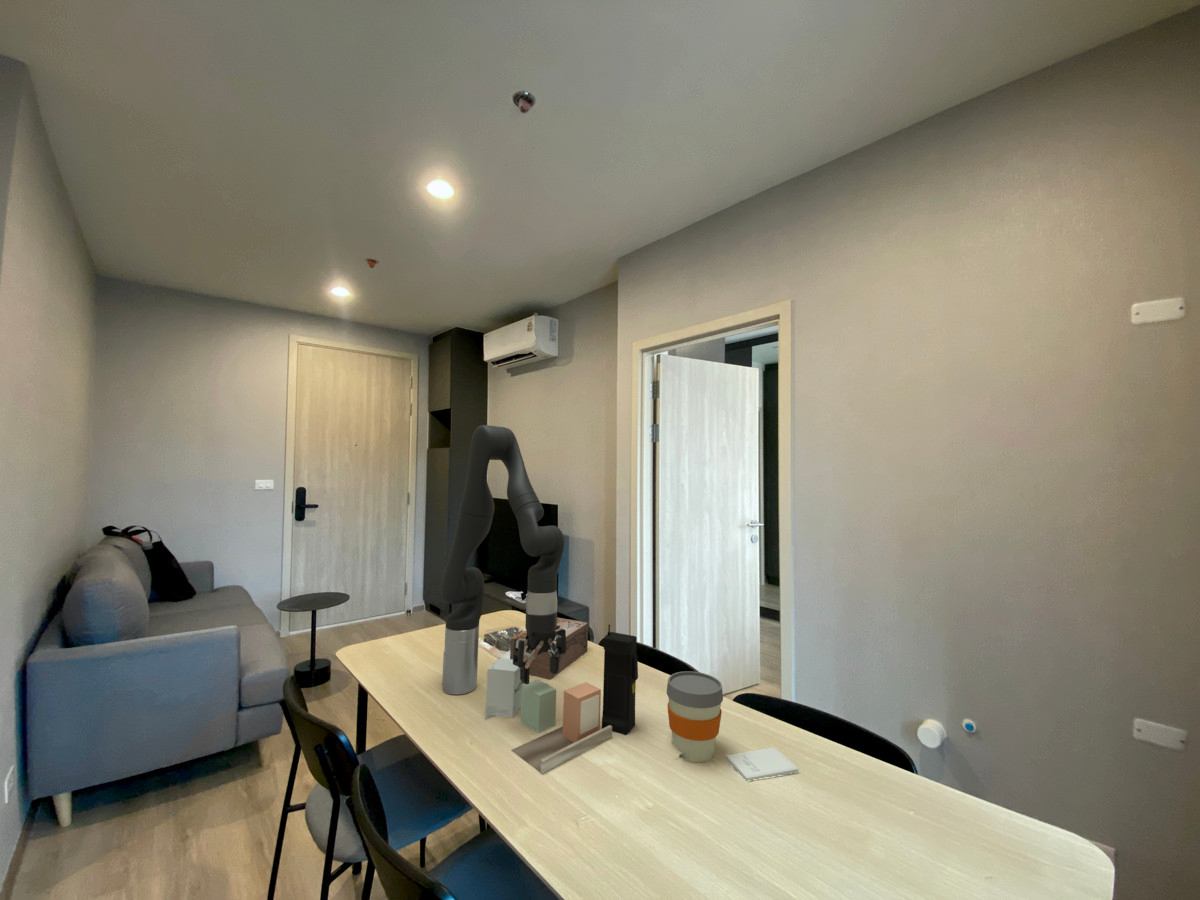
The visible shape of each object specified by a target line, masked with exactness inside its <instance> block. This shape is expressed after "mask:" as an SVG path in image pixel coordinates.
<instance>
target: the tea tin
mask: <svg viewBox="0 0 1200 900" xmlns="http://www.w3.org/2000/svg"><path fill="white" fill-rule="evenodd" d="M556 707H557V689H556V687H553V686H552V685H550V684H548V683H545V682H543V681H542V680H541V679H536V680H533V681H531V682H530V681H529V684H524V685H522V693H521V708H520V722H521V723H523V725H526V726H527V727H528V728H529V729H531V730H533V731H534V732H535V733H537V734H540V733H541V732H544V731H546V730H548V729H551V728H553V727H555V726H556Z"/></svg>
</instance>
